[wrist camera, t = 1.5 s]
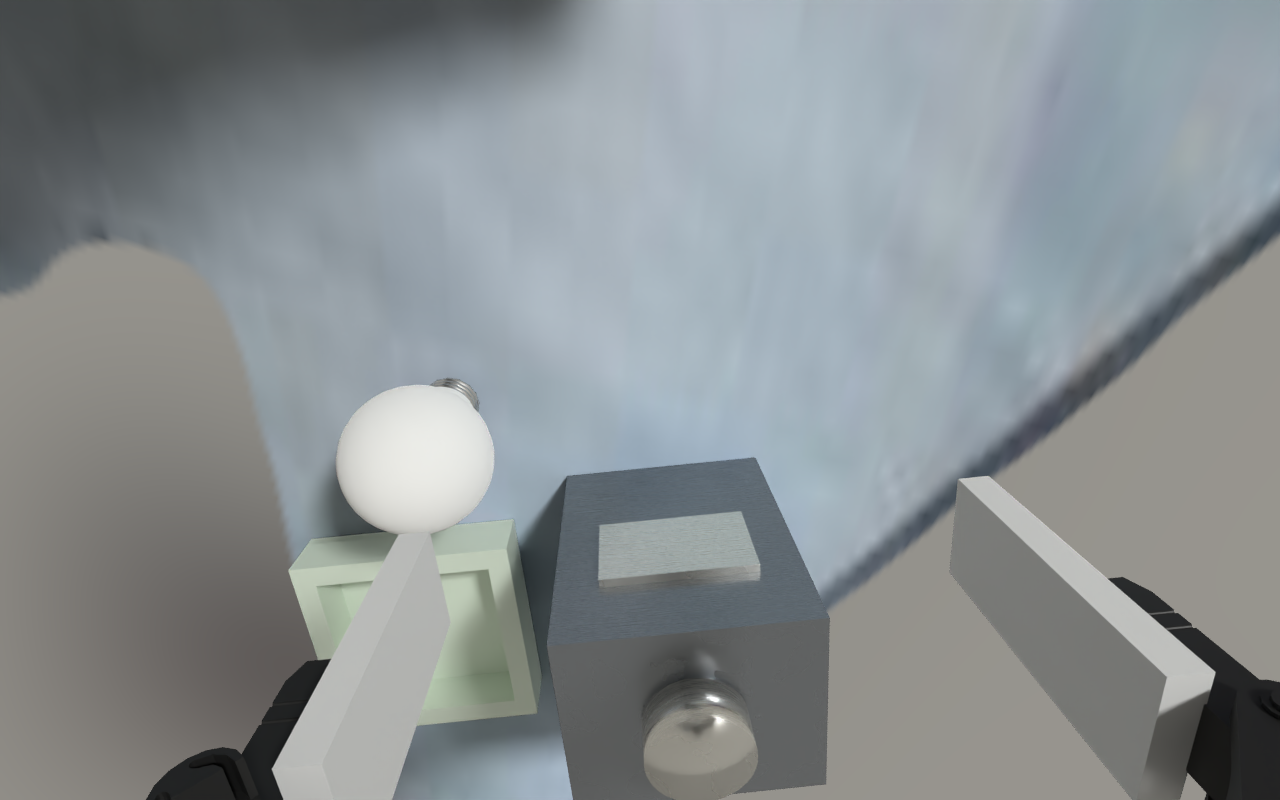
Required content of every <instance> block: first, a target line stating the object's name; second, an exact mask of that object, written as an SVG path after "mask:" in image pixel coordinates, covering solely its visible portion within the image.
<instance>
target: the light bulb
mask: <svg viewBox="0 0 1280 800" xmlns="http://www.w3.org/2000/svg"><path fill="white" fill-rule="evenodd" d="M478 411H479V400H478V397H477V394H476V392H475V391H474V390H473V389H472V388H471V386H470V385H468V384H467V383H465V382H463V381H461V380H459V379H453V378H445V379H440V380H436V381H435V382H434V383H432V384H431V385H429V386H427V385H410V386H402V387H397V388H394V389H391V390H387V391H384V392H382V393H381V394H379V395H377V396H375V397H373V398H372V399H370V400H369V401H368V402H366V403H365V404H364V405H363V406H362V407H360V408H359V409H358V410H357V411H356V412H355V413H354V415H353V416H352V418H351V419H350V420H349V422H348V423H347V425H346V427H345V428H344V430H343V432H342V435H341V437H340V440H339V443H338V449H337V456H336V473H337V478H338V481H339V484H340V487H341V490H342V493H343V494H344V496H345V498H346V500H347V502H348V504H349V505H350V506H351V507H352V508H353V510H354V511H355V512H356V513H357V514H358V515H359V516H360V517H362V518H363V519H364V520H365V521H366V522H368V523H370V524H371V525H373V526H375V527H376V528H379V529H381V530H384V531H386V532H389V533H393V534H397V535H399V534H409V533H419V532H429V531H430V534H432V533H436V532H439V531H443V530H446V529H448V528H450V527H452V526H453V525H455V524H457V523H458V522H460V521H461V520H462V519H463V518H465V517H466V516H467V515H468V514H470V513H471V512H472V511H473V510H474V509H475V508H476V506H477V505H478V504H479V503H480V502H481V500H482V498H483V497H484V495H485V493H486V491H487V489H488V487H489V485H490V482H491V478H492V474H493V470H494V447H493V442H492V438H491V435H490V433H489V431H488V428H487V426H486V424H485V422H484V420H483V419H482V417H481V416H480V415H479V413H478Z"/></svg>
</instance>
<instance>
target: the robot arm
mask: <svg viewBox="0 0 1280 800" xmlns="http://www.w3.org/2000/svg"><path fill="white" fill-rule="evenodd" d="M950 574H951V575H952V576H953V577H954V579H955V580H956V581H957V582H958V583H959V585H960V586H961V587H962V589H963V590H964V591H965V592H966V593H967V595H968V596H969V597H970V599H971V600H972V601H973V602H974V604H975V605H976V606H977V607H978V608H979V610H980V611H981V612H982V614H983V615H984V616H985V617H986V618H987V620H988V621H989V622H990V623H991V625H992V626H993V627H994V628H995V629H996V631H997V632H998V633H999V635H1000V636H1001V637H1002V638H1003V640H1004V641H1005V642H1006V643H1007V645H1008V646H1009V647H1010V648H1011V650H1012V651H1013V652H1014V653H1015V655H1016V656H1017V657H1018V658H1019V659H1020V661H1021V662H1022V663H1023V664H1024V666H1025V667H1026V668H1027V669H1028V671H1029V672H1030V673H1031V675H1032V676H1033V677H1034V678H1035V679H1036V681H1037V682H1038V683H1039V684H1040V686H1041V687H1042V688H1043V689H1044V691H1045V692H1046V693H1047V694H1048V696H1049V697H1050V698H1051V699H1052V701H1053V702H1054V703H1055V704H1056V705H1057V707H1058V708H1059V709H1060V710H1061V712H1062V713H1063V714H1064V715H1065V717H1066V718H1067V719H1068V721H1069V722H1070V723H1071V724H1072V726H1073V727H1074V728H1075V729H1076V731H1077V732H1078V733H1079V734H1080V736H1081V737H1082V738H1083V739H1084V741H1085V742H1086V743H1087V744H1088V745H1089V747H1090V748H1091V749H1092V750H1093V752H1094V753H1095V754H1096V755H1097V757H1098V758H1099V759H1100V760H1101V762H1102V763H1103V764H1104V765H1105V767H1106V768H1107V769H1108V770H1109V772H1110V773H1111V774H1112V775H1113V777H1114V778H1115V779H1116V780H1117V782H1118V783H1119V784H1120V785H1121V786H1122V788H1123V789H1124V790H1125V792H1126V793H1127V794H1128V795H1129V797H1131V799H1132V800H1179V799H1180V797H1181V794H1182V791H1183V787H1184V783H1185V780H1186V776H1187V773H1189V774H1190V775H1191V777H1192V778H1193V779H1194V780H1195V781H1196V782H1197V783H1198V784H1199V785H1200V786H1201V787H1202V788H1203V789H1204V791H1206V793H1207V794H1206V797H1205V800H1280V682H1275V681H1271V680H1259V679H1258V678H1257V677H1256V676H1254V675H1253V674H1252V673H1251V672H1249V671H1248V670H1247V669H1246V668H1244V667H1243V666H1242V665H1241V664H1239V663H1238V662H1237V661H1236V660H1235V659H1233V658H1232V657H1231V656H1230V655H1229V654H1227V653H1226V652H1225V651H1224V650H1222V649H1221V648H1220V647H1219V646H1218V645H1216V644H1215V643H1214V642H1213V641H1211V640H1210V639H1209V638H1208V637H1206V636H1205V635H1204V634H1203V633H1202V632H1201V631H1199V630H1198V629H1197V628H1193V627H1192V625H1191V623H1189V622H1188V621H1187V620H1186V619H1185V618H1183V617H1182V616H1181V615H1180V614H1178V613H1174V610H1173V609H1172V608H1171V607H1170V606H1169V605H1167V604H1166V603H1165V602H1164V601H1162V600H1161V599H1160V598H1159V597H1158V596H1156V595H1155V594H1154V593H1153V592H1151V591H1149V590H1147V589H1145V588H1143V587H1141V586H1139V585H1137V584H1135V583H1133V582H1131V581H1129V580H1128V579H1125V578H1123V577H1120V578H1110V579H1107V578H1106V577H1105V576H1104V575H1102V574H1101V573H1100V572H1099V571H1098V570H1097V569H1096V568H1094V567H1093V566H1092V565H1091V564H1090V563H1089V562H1087V561H1086V560H1085V559H1084V558H1083V557H1082V556H1081V555H1079V554H1078V553H1077V552H1076V551H1075V550H1073V549H1072V548H1071V547H1070V546H1069V545H1068V544H1067V543H1065V542H1064V541H1063V540H1062V539H1061V538H1060V537H1058V536H1057V535H1056V534H1055V533H1054V532H1053V531H1052V530H1050V529H1049V528H1048V527H1047V526H1046V525H1045V524H1044V523H1042V522H1041V521H1040V520H1039V519H1038V518H1037V517H1035V516H1034V515H1033V514H1032V513H1031V512H1030V511H1029V510H1027V509H1026V508H1025V507H1024V506H1023V505H1021V504H1020V503H1019V502H1018V501H1017V500H1016V499H1014V498H1013V497H1012V496H1011V495H1010V494H1009V493H1008V492H1007V491H1005V490H1004V489H1003V488H1002V487H1001V486H999V485H998V484H997V483H996V482H995V481H994V480H993V479H991V478H990V477H989V476H984V477H974V478H964V479H958V485H957V496H956V507H955V517H954V529H953V539H952V550H951V560H950ZM450 623H451V621H450V617H449V613H448V608H447V604H446V600H445V595H444V591H443V587H442V582H441V578H440V574H439V569H438V565H437V561H436V556H435V552H434V548H433V543H432V539H431V535H430V531H429V532H419V533H409V534H399V535H398V537H397V538H396V540H395V542H394V544H393V546H392V548H391V550H390V551H389V553H388V555H387V557H386V559H385V561H384V562H383V564H382V566H381V568H380V570H379V572H378V574H377V575H376V577H375V579H374V581H373V583H372V585H371V587H370V588H369V590H368V592H367V594H366V596H365V598H364V599H363V601H362V603H361V605H360V607H359V609H358V611H357V612H356V614H355V616H354V618H353V620H352V622H351V624H350V625H349V627H348V629H347V631H346V633H345V635H344V636H343V638H342V640H341V642H340V644H339V646H338V648H337V649H336V651H335V653H334V655H333V657H332V659H324V660H315V661H307V662H306V663H305V664H304V665H303V666H302V667H301V668H299V669H298V670H297V671H296V672H295V673H294V674H293V675H292V676H291V677H290V678H289V679H288V680H286V682H285V683H284V685H283V687H282V688H281V690H280V691H279V693H278V695H277V696H276V698H275V700H274V702H273V706H272V707H270V708H269V710H268V711H267V713H266V715H265V716H264V718H263V720H262V725H259V726H258V728H257V730H256V732H255V733H254V735H253V736H252V738H251V740H250V741H249V743H248V744H247V746H246V748H245V750H244V751H243V753H242V754H240V753H239V752H238V751H237V750H236V749H230V748H223V747H222V748H217V749H211V750H207V751H204V752H201V753H199V754H197V755H194V756H192V757H190V758H187V759H186V760H185V761H183V762H182V763H180V764H178V765H177V766H176V767H174V768H173V769H171V770H170V771H168V772H167V773H166V774H165V775H164V776H163V777H162V778H161V779H160V780H159V781H158V782H157V783H156V784H155V785H154V787H153V789H152V790H151V792H150V794H149V795H148V798H147V799H146V800H392V798H393V795H394V792H395V789H396V786H397V783H398V780H399V777H400V774H401V771H402V768H403V765H404V762H405V759H406V756H407V753H408V750H409V747H410V744H411V741H412V738H413V735H414V732H415V729H416V726H417V723H418V720H419V717H420V714H421V711H422V708H423V705H424V702H425V699H426V696H427V693H428V690H429V687H430V684H431V681H432V678H433V675H434V672H435V668H436V665H437V662H438V659H439V656H440V653H441V650H442V647H443V644H444V641H445V638H446V635H447V632H448V629H449V626H450Z"/></svg>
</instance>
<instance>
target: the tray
mask: <svg viewBox="0 0 1280 800" xmlns="http://www.w3.org/2000/svg"><path fill="white" fill-rule="evenodd" d="M430 535H431V539H432V543H433V548H434V552H435V556H436V561H437V565H438V569H439V574H440V578H441V582H442V587H443V591H444V595H445V600H446V604H447V608H448V613H449V617H450V621H451V623H450V626H449V629H448V632H447V635H446V638H445V641H444V644H443V647H442V650H441V653H440V656H439V659H438V662H437V665H436V668H435V672H434V675H433V678H432V681H431V684H430V687H429V690H428V693H427V696H426V699H425V702H424V705H423V708H422V711H421V714H420V717H419V720H418V723H417V726H419V725H429V724H439V723H449V722H459V721H468V720H478V719H488V718H498V717H508V716H518V715H527V714H537V712H538V704H539V696H540V688H541V680H542V673H541V668H540V662H539V657H538V651H537V646H536V640H535V635H534V629H533V623H532V618H531V612H530V607H529V601H528V596H527V590H526V585H525V579H524V573H523V568H522V562H521V557H520V551H519V546H518V540H517V535H516V529H515V523H514V519H510V520H500V521H490V522H480V523H469V524H459V525H453V526H452V527H450V528H448V529H446V530H443V531H439V532H436V533H432V534H430ZM397 537H398V535H397V534H393V533H389V532H378V533H368V534H358V535H348V536H338V537H327V538H317V539H311V540H310V542H309V543H308V545H307V546H306V547H305V549H304V550H303V551H302V553H301V554H300V555H299V557H298V558H297V559H296V561H295V562H294V563H293V565H292V566H291V568H290V569H289V570H288V571H289V574H290V577H291V580H292V583H293V586H294V589H295V592H296V595H297V598H298V601H299V604H300V607H301V610H302V613H303V616H304V619H305V622H306V625H307V628H308V631H309V634H310V637H311V640H312V643H313V646H314V649H315V652H316V655H317V658H318V660H324V659H332V657H333V655H334V653H335V651H336V649H337V648H338V646H339V644H340V642H341V640H342V638H343V636H344V635H345V633H346V631H347V629H348V627H349V625H350V624H351V622H352V620H353V618H354V616H355V614H356V612H357V611H358V609H359V607H360V605H361V603H362V601H363V599H364V598H365V596H366V594H367V592H368V590H369V588H370V587H371V585H372V583H373V581H374V579H375V577H376V575H377V574H378V572H379V570H380V568H381V566H382V564H383V562H384V561H385V559H386V557H387V555H388V553H389V551H390V550H391V548H392V546H393V544H394V542H395V540H396V538H397Z"/></svg>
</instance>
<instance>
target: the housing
mask: <svg viewBox="0 0 1280 800" xmlns="http://www.w3.org/2000/svg"><path fill="white" fill-rule="evenodd" d="M829 623H830V618H829V615H828V613H827V611H826V609H825V607H824V605H823V602H822V600H821V598H820V596H819V594H818V592H817V590H816V587H815V585H814V583H813V581H812V579H811V577H810V574H809V572H808V570H807V568H806V566H805V564H804V561H803V559H802V557H801V555H800V553H799V551H798V549H797V546H796V544H795V542H794V540H793V538H792V536H791V533H790V531H789V529H788V527H787V525H786V523H785V520H784V518H783V516H782V514H781V512H780V510H779V508H778V505H777V503H776V501H775V499H774V497H773V495H772V492H771V490H770V488H769V486H768V484H767V482H766V479H765V477H764V475H763V473H762V471H761V469H760V467H759V464H758V462H757V460H756V458H747V459H737V460H726V461H716V462H706V463H696V464H686V465H675V466H665V467H655V468H645V469H635V470H624V471H614V472H604V473H594V474H584V475H573V476H567V482H566V490H565V498H564V507H563V515H562V523H561V532H560V540H559V548H558V557H557V565H556V573H555V582H554V590H553V598H552V606H551V615H550V623H549V631H548V640H547V651H548V657H549V663H550V668H551V674H552V680H553V686H554V691H555V697H556V703H557V709H558V715H559V720H560V726H561V732H562V738H563V743H564V749H565V755H566V761H567V767H568V772H569V778H570V784H571V790H572V795H573V800H718V799H721V798H724V797H726V796H729V795H731V794H737V793H746V792H756V791H766V790H775V789H785V788H795V787H804V786H814V785H824V784H826V761H827V715H828V711H827V710H828V669H829V667H828V666H829Z"/></svg>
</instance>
